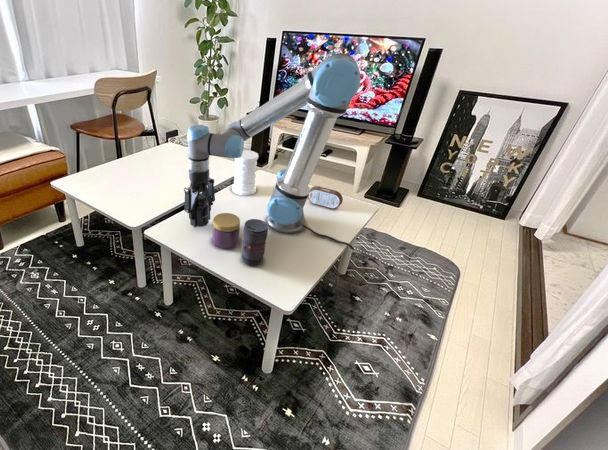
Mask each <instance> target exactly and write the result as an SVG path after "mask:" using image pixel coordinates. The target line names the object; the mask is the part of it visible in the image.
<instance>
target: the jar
mask: <svg viewBox="0 0 608 450" xmlns="http://www.w3.org/2000/svg"><path fill="white" fill-rule="evenodd" d="M240 231H241V225H240V226H239V228H238V229H237V230H235V231H231V232H223V231H219V230H217V229H216V228H215V227H214V226H213V225H212V244H213V245H214V246H215V248H217V249H221V250H231V249H235V248H237V247H238V245H239V244H240Z"/></svg>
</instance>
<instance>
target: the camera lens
mask: <svg viewBox="0 0 608 450" xmlns="http://www.w3.org/2000/svg"><path fill="white" fill-rule="evenodd" d="M242 229H243V230H242V240H241V257H242V262H243V263H244V264H245V265H246V266H250V267H258V266H259V265H261V264H262V262H263V260H264V257H265V252H266V244H267V239H268V232H269V226H268V224H267V222H265V221H264V220H261V219H257V218H250V219H247V220H246V221H245V222H244V225H243V228H242Z"/></svg>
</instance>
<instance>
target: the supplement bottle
mask: <svg viewBox="0 0 608 450" xmlns="http://www.w3.org/2000/svg"><path fill="white" fill-rule="evenodd" d="M195 212H196V227H198V228H202V227H206V226H207V225H209V222H210V220H209V204H208V202H207V201H206V195H204V194H202V193H200V194H199V196H198V199H197V203H196V207H195Z"/></svg>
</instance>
